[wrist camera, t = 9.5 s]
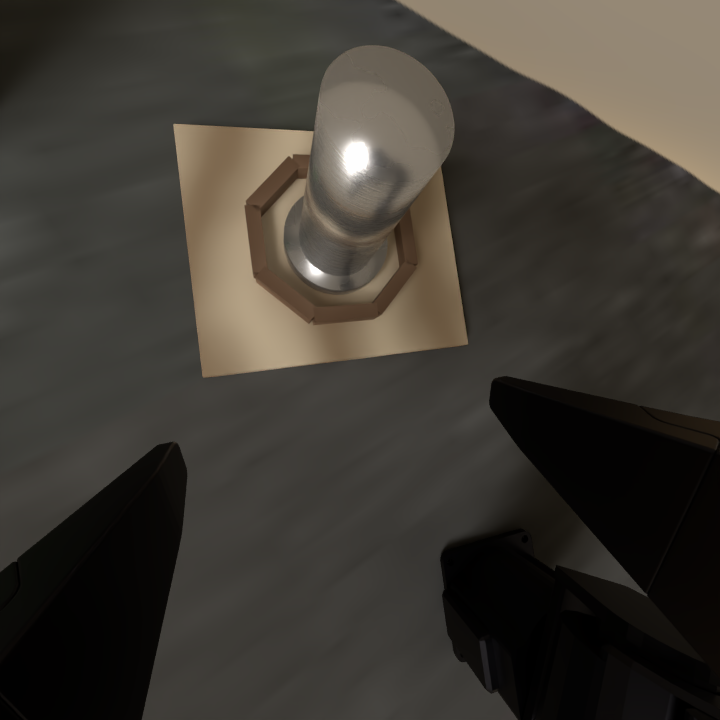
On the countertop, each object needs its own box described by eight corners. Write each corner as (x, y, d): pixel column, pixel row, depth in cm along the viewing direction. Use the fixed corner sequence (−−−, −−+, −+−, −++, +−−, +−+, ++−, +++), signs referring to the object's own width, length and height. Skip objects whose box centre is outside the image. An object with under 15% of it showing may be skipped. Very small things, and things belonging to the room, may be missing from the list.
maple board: (429, 148, 23) (443, 126, 21) (459, 346, 23) (477, 342, 21) (178, 137, 19) (167, 109, 17) (206, 377, 19) (198, 376, 17)
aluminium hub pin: (374, 197, 21) (461, 33, 11) (388, 291, 21) (489, 205, 11) (277, 197, 19) (278, 7, 10) (290, 298, 19) (306, 207, 9)
